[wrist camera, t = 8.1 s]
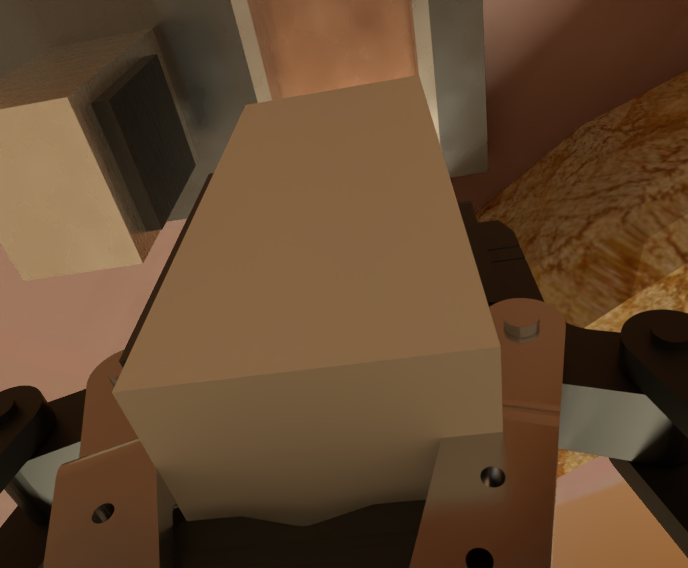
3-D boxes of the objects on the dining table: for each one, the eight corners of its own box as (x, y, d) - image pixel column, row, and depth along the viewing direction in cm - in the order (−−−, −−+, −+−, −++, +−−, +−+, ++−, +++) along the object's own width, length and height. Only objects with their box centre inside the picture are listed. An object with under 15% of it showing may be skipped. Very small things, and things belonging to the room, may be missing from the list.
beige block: (419, 75, 13) (500, 346, 6) (440, 289, 16) (508, 631, 9) (220, 109, 13) (59, 398, 6) (281, 310, 17) (224, 648, 10)
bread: (364, 466, 44) (367, 601, 36) (250, 398, 40) (224, 533, 32) (866, 137, 29) (1069, 244, 21) (765, -32, 24) (970, 18, 16)
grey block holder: (-47, -18, 25) (-254, 42, 16) (471, -128, 22) (543, -125, 14) (76, 222, 32) (-25, 353, 23) (482, 159, 29) (535, 279, 21)
